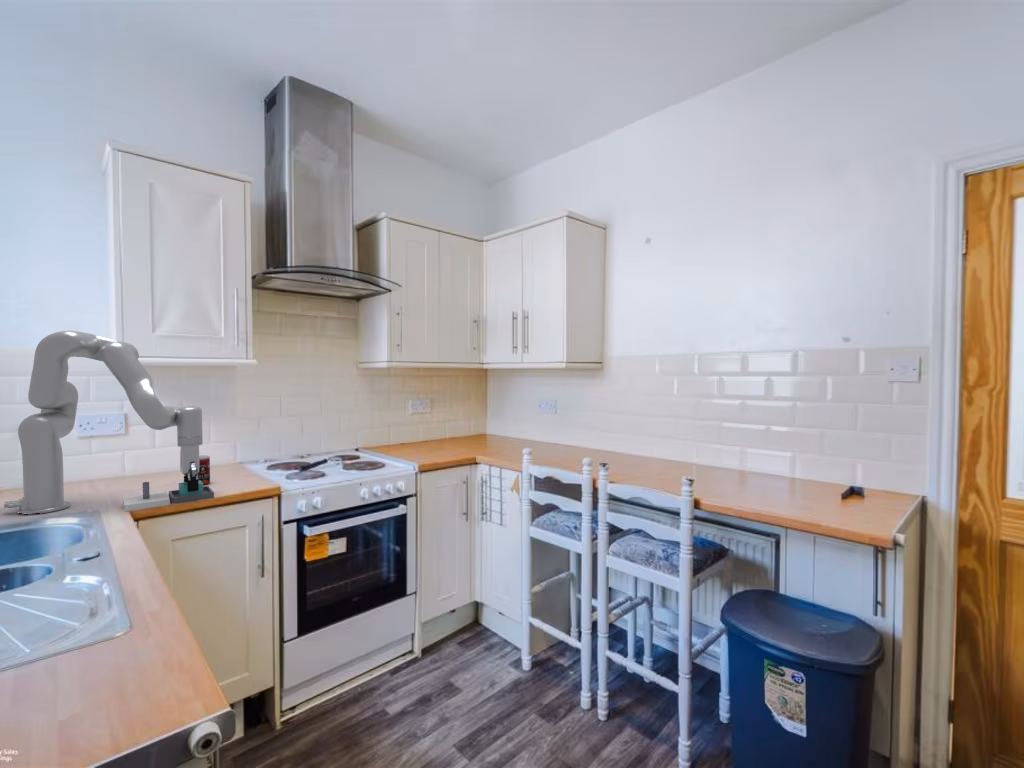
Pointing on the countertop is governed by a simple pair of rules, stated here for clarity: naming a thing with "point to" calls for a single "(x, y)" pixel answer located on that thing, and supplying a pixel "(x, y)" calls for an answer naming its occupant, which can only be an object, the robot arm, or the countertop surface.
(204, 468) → the canned food
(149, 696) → the countertop surface
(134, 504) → the stake block
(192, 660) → the countertop surface
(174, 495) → the tray
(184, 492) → the teal notched block
